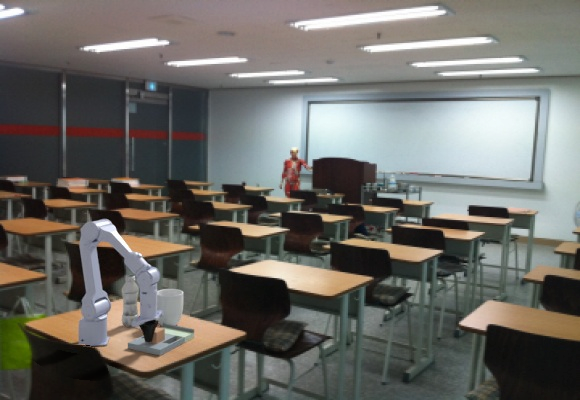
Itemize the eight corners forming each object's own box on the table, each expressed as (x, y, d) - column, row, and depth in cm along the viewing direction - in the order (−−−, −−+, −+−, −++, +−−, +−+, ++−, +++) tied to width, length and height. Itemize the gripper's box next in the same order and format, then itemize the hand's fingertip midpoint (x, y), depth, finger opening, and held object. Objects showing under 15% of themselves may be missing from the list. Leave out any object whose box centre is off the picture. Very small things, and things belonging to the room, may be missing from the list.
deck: (160, 355, 182) (160, 346, 181) (127, 348, 187) (127, 339, 187) (194, 337, 200) (194, 329, 200) (163, 331, 205) (163, 323, 205)
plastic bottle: (141, 323, 214) (141, 274, 212) (134, 329, 207) (135, 278, 205) (125, 322, 214) (125, 273, 212) (118, 328, 208) (118, 277, 206)
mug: (141, 324, 213) (141, 292, 211) (158, 317, 223) (159, 286, 221) (172, 330, 207) (172, 297, 205) (188, 322, 217) (189, 291, 215)
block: (156, 343, 187) (156, 332, 186) (146, 341, 189) (146, 330, 188) (164, 339, 191) (164, 328, 191) (154, 337, 193) (154, 326, 192)
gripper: (144, 310, 177) (143, 350, 178) (170, 299, 190) (170, 336, 191) (127, 307, 180) (127, 346, 181) (154, 297, 193) (154, 333, 194)
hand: (148, 341), depth 186 cm, fingers closed
